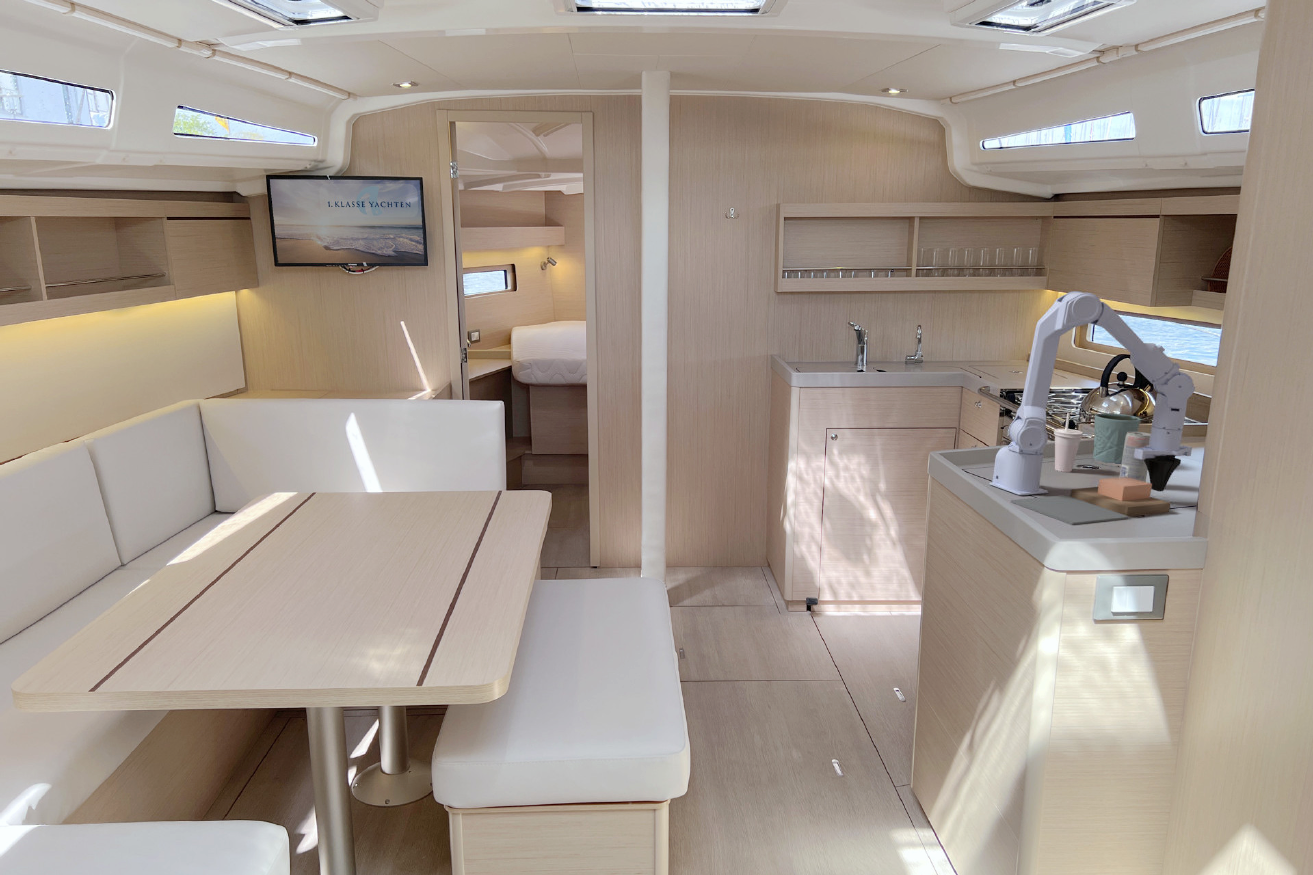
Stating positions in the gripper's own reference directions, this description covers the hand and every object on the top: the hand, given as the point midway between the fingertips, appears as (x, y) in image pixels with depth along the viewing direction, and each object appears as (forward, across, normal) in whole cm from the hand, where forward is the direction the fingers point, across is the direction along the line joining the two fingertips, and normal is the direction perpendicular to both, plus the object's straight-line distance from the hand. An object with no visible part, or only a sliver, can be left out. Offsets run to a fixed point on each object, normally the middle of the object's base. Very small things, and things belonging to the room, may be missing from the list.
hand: (1157, 490), depth 188 cm
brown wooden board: (+2, -11, 0) cm, 11 cm away
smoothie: (+3, +2, +27) cm, 27 cm away
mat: (+2, -25, 0) cm, 25 cm away
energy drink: (+3, +7, +12) cm, 14 cm away
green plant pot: (+3, +21, +30) cm, 37 cm away
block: (0, -10, 0) cm, 10 cm away
